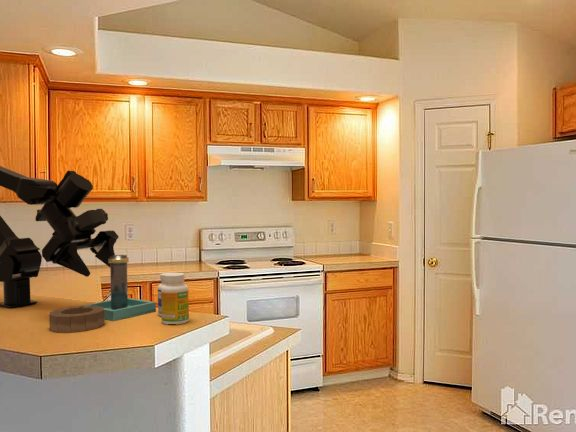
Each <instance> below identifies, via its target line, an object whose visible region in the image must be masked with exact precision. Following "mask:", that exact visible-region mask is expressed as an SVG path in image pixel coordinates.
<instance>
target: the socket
mask: <svg viewBox="0 0 576 432" xmlns="http://www.w3.org/2000/svg"><path fill="white" fill-rule="evenodd" d="M48 314H49V315H48V316H49V317H48V318H49V321H48V322H49V331H52V332H56V333H77V332H87V331H91V330H95V329H99V328H101V327H103V326H104V325H105V323H106V319H104V308H103V307H100V306H82V305H75V306H68V307H67V306H66V307H61V308H57V309H54V310H51V311H49V313H48Z"/></svg>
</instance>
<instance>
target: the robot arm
mask: <svg viewBox="0 0 576 432" xmlns="http://www.w3.org/2000/svg"><path fill="white" fill-rule="evenodd" d="M0 187H1V188H2V187H3V188H5V189H7V190H10V191H12V192H13V193H15V194H16V196H17V198H18V199H19V200H21V201H22V202H24V203H25V204H27V205H31V206H37V205H40V206H42V205H43V206H42V207H41V208H40V209H37V210H36V215H35V219H34V220H35V222H47V223H48V225H49V226H50V227H51V228H52V229H53V232H52V233H51V235H52V236H51V237H50V238H49V240H48V241H47V243H46V244H45V245H44V246H43V248H42V249H40V247H38V246H37V245H36V244H35V243H34V241H33V239H32V238H30V237H22V238H19V237H18V236H17V235H16V233H15V232H14V231H13V230H12V228H11V227H10V226H9V225H8V223H7V222H6V220H4V218H3V217H2V216H1V215H0V283H1V282H2V283H3V287H2V289H3V302H0V306H1V307H4V308H9V309H10V308H17V307H23V306H28V305H29V306H30V305H35V304H37V303H38V301H37V300H32V299H31V298H32V297H31V278H37V277H39V274H40V273H39V272H40V268H41V266H42V261H43V259H44V261H46V263H51V262H52V264H56V265H59V266H61V267H64V268H65V269H69V270H72V271H73V272H75V273H77V274H80V275H82V276H84V277H86V278H88V277H89V276H91V271H90V270H89V268H88V266H87V265H86V263H85V262H84V260H83V259H82V257H81V256H80V254H79V252H78V251H80V250H86V249H89V250H90V251H91V253H93V254H95V255H94V257H95V258H97V259H98V260H99V261H101V262H102V263H104V264H105V265H106V266H107V267H109V268H110V263H109V258H110V256H112V255H116V254H115V250H114V249H115V248H114V246H115V244H116V242H117V240H118V239H119V235H118V233H116V231H115V230H101V231H99V232H98V233H97V234H96V236H95V237H94V238H92V235H95V233H96V232H97V230H96V228H98V227H100V226H101V225H105V224H106V223H107V221H108V220H109V216H108V215H109V214H108V213H107V212H106V211H105V210H104V209H103V208H96V209H90V210H86V211H85V212H82V213H80V214H79V215H76V214H75V212H74V211H73V210H72V208H74V209H76V208H79V207H80V205H82V203H83V202H84V201H85V199H86V198H87V197H88V196H89V195H90V193H91V192H92V190H93V189H94V185H93V184H92V182H91V181H90V180H89V179H87V178H85V177H84V176H83V175H82V174H81V175H80V174H79V173H77V172H76V171H75V170H67V171H66V172H65V174H64V175H63V177H62V179H61V180H60V182H59V183H58V184H57V182H55V181H53V180H50V179H43V178H36V177H29V176H26V175H23V174H21V173H18V172H16V171H13V170H11V169H9V168H6V167H3V166H1V165H0ZM40 250H41V252H40ZM42 258H43V259H42Z"/></svg>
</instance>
